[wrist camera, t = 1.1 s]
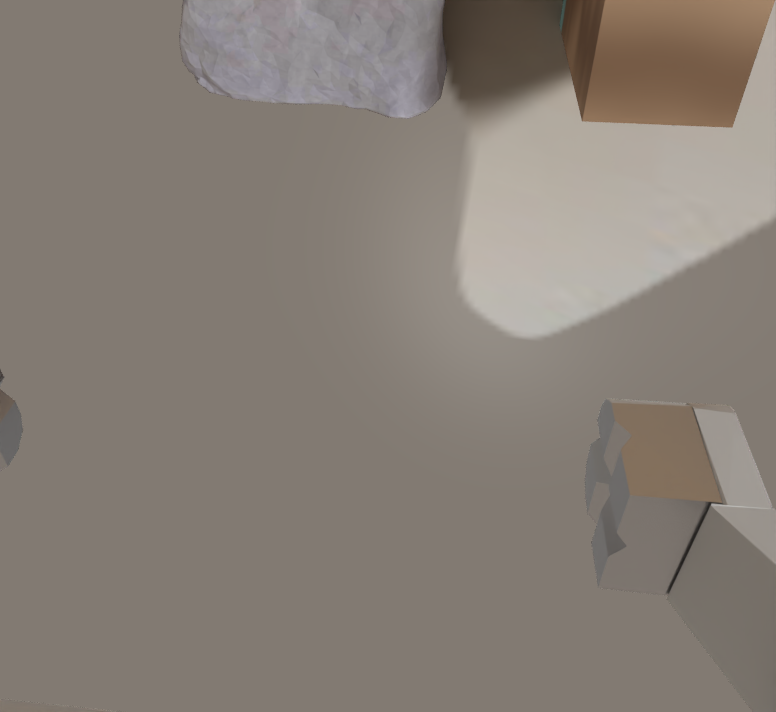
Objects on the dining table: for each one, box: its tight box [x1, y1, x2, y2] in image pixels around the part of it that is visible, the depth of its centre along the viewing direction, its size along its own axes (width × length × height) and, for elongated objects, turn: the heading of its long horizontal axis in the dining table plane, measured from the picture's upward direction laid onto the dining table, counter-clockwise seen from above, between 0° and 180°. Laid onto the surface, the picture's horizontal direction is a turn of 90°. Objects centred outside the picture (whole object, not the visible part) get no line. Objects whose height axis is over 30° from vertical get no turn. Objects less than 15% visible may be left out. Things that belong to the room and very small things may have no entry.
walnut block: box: [560, 0, 775, 127], centre depth 27 cm, size 5×5×10 cm
